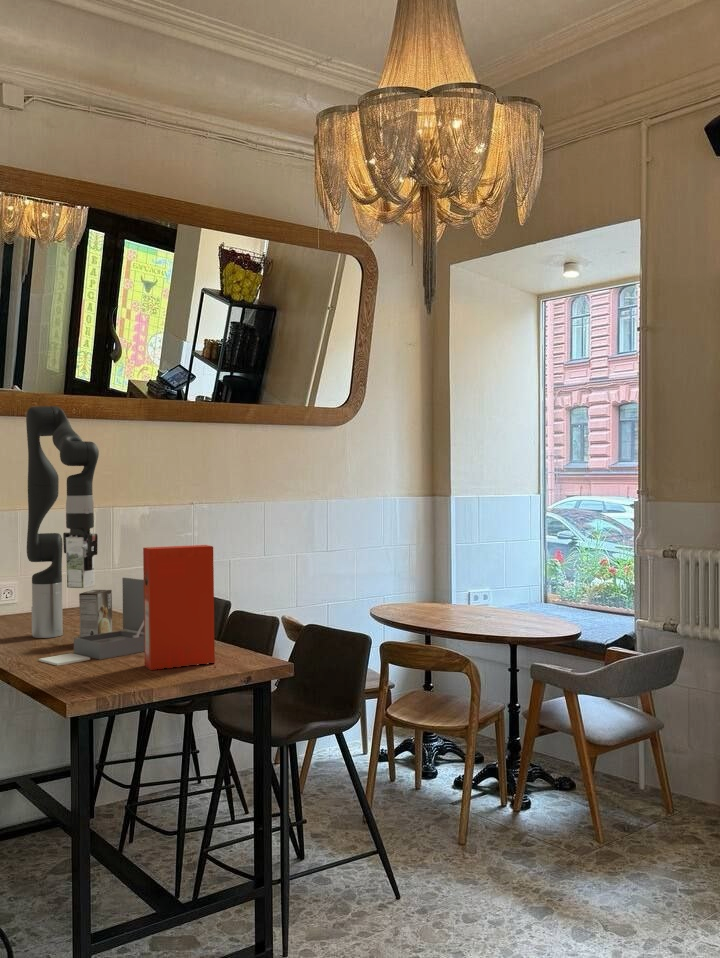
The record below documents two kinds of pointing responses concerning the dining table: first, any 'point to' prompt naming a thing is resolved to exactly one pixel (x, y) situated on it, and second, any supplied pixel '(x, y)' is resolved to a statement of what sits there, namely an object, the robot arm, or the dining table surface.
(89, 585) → the syrup box
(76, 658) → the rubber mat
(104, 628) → the coffee box
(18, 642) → the dining table surface
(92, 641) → the case
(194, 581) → the file binder
